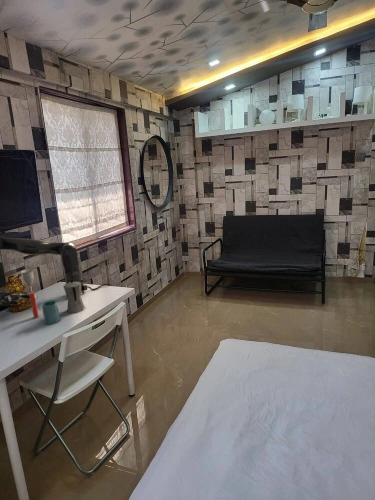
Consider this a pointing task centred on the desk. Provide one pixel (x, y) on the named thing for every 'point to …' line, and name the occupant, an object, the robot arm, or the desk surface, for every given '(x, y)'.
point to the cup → (50, 312)
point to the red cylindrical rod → (34, 305)
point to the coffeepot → (74, 296)
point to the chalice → (28, 277)
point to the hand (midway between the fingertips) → (23, 299)
